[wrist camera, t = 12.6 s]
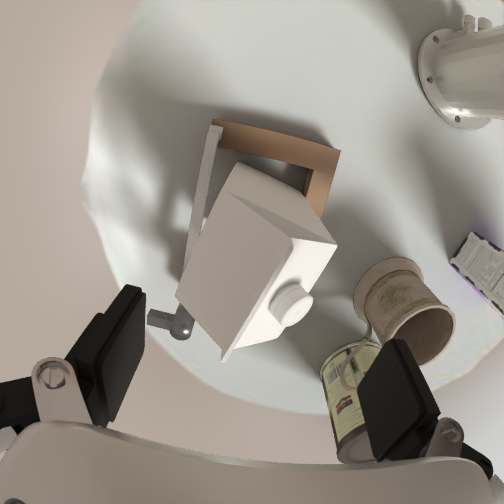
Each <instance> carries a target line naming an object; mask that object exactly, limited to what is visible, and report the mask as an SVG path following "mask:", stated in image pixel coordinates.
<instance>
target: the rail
mask: <svg viewBox="0 0 504 504" xmlns="http://www.w3.org/2000/svg"><path fill="white" fill-rule="evenodd" d="M223 132H224V127H221V126H215V125H210V127H209V131H208V133H207V138H206V142H205V147H204V152H203V157H202V161H201V166H200V171H199V176H198V182H197V187H196V192H195V198H194V203H193V209H192V214H191V220H190V226H189V232H188V238H187V245H186V251H185V258H184V264H183V271H182V276H183V273H184V271H185V269H186V266H187V264H188V261H189V259H190V257H191V255H192V252H193V250H194V248H195V245H196V243H197V241H198V239H199V236H200V233H201V228H202V222H203V217H204V212H205V206H206V201H207V196H208V191H209V186H210V181H211V176H212V172H213V167H214V162H215V157H216V153H217V148H218V144H219V140H222V136H223Z"/></svg>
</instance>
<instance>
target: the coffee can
mask: <svg viewBox="0 0 504 504" xmlns="http://www.w3.org/2000/svg"><path fill="white" fill-rule="evenodd" d="M360 343H361V342H355V343H351V344H348V345H345V346H343V347H341V348H339V349H337V350H336V351H335V352H334V353H332V354H331V355H330V356H329V357H328V358H327V359H326V360H325V362H324V363H323V365H322V367H321V371H320V378H321V381H322V384H323V388H324V393H325V397H326V401H327V406H328V410H329V414H330V419H331V423H332V428H333V433H334V438H335V442H336V447H337V458H338V460H339V461H340V462H341V463H344V464H362V463H375V462H377V460H376V458H374V457H373V454H372V449H371V445H370V441H369V437H368V433H367V429H366V425H365V421H364V417H363V414H362V410H361V406H360V402H359V399H358V395H357V392H350V391H348V390H346V389H345V388H344V387H343V386H342V384H341V382H340V369H341V366H342V363H343V361H344V360H345V359H346V357H347V356H348V355H349V354H350V353H351V352H352V351H353V350H354V349H355V348H356V347H357V346H358V345H359V344H360ZM381 348H382V347H381V346H380V345H378V344H376V343H373V342H367V343H366V345H365V346H364V347H363V348H362V349H361V350H360V351H359V352H358V353H357V354H356V355H355V356H354V357H353V358H352V359H351V360H350V361H349V363H348V364H347V366H346V368H345V372H344V377H345V381H346V383H347V384H348V385H349V386H351V387H358V385H359V383H360V382H361V380H362V379H363V377H364V376H365V374H366V373H367V371H368V369H369V368H370V366H371V365H372V363H373V361H374V360H375V359H374V358H375V357H377V355H378V353H379V352H380V350H381Z"/></svg>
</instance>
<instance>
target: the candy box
mask: <svg viewBox="0 0 504 504" xmlns="http://www.w3.org/2000/svg"><path fill="white" fill-rule="evenodd" d="M449 263H450V265H451V266H452V267H453V268H454V269H455V270H456V271H457V272H458V273H459V274H460V275H461V276H462V277H463V278H464V279H465V280H466V281H467V282H468V283H469V284H470V285H471V286H472V287H473V288H474V289H475V290H476V291H477V292H478V293H479V294H480V295H481V296H482V297H483V298H484V299H485V300H486V301H487V302H488V304H489V305H490V306H491V307H492V308H493V309H494V310H495V311H496V312H497V313H498V314H499V315H500V316H501V317H502V318H503V319H504V251H503V250H501V249H500V248H498V247H497V246H496V245H494V244H492V243H491V242H489V241H488V240H486V239H485V238H483V237H482V236H480V235H478V234H477V233H475V232H474V231H471V232H470V233H469V235H468V236H467V238H466V239H465V240H464V242H463V244H462V245H461V246H460V248H459V249H458V250H457V252H456V253H455V255H454V256H453V257H452V259H451V260H450V262H449Z"/></svg>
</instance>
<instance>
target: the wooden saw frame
mask: <svg viewBox="0 0 504 504" xmlns="http://www.w3.org/2000/svg"><path fill="white" fill-rule="evenodd" d="M212 125H215V126H221V127H224V132H223V136H222V140H219V144H218V147H221V148H226V149H231V150H235V151H240V152H245V153H249V154H254V155H258V156H262V157H266V158H271V159H275V160H279V161H283V162H287V163H290V164H294V165H298V166H302V167H306V168H309V169H308V173H307V177H306V180H305V184H304V188H303V191H302V194H303V196H304V197H305V198H306V200H307V201H308V203H309V204H310V205H311V207H312V208H313V210H314V211H315V213H316V214H317V215H318V217H319V218H320V220H321V217H322V214H323V211H324V208H325V204H326V201H327V198H328V194H329V191H330V187H331V184H332V181H333V177H334V174H335V170H336V167H337V163H338V159H339V156H340V152H341V150H338V149H335V148H332V147H328V146H325V145H322V144H318V143H315V142H311V141H308V140H304V139H301V138H297V137H293V136H290V135H286V134H282V133H278V132H274V131H270V130H265V129H261V128H257V127H252V126H248V125H243V124H239V123H234V122H229V121H224V120H218V119H213V121H212Z"/></svg>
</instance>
